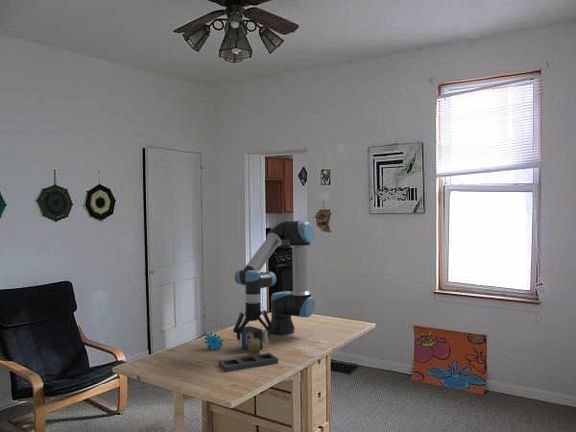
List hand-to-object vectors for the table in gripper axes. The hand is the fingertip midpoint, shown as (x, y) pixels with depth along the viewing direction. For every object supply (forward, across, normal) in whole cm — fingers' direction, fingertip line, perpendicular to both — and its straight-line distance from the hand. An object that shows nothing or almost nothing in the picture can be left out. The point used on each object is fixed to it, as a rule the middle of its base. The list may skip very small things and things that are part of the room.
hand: (253, 344), depth 242 cm
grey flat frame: (+6, +7, +11) cm, 14 cm away
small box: (+6, -3, -11) cm, 13 cm away
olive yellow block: (+5, 0, 0) cm, 5 cm away
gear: (+6, +14, -21) cm, 25 cm away
